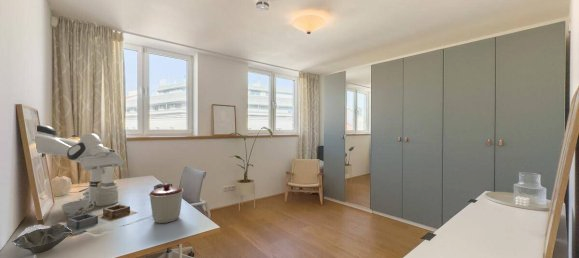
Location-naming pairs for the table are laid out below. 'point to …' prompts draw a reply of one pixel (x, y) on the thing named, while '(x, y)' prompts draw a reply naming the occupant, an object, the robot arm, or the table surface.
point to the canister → (166, 203)
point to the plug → (107, 177)
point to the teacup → (76, 208)
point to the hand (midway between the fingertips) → (108, 172)
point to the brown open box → (116, 212)
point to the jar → (106, 195)
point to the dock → (83, 223)
